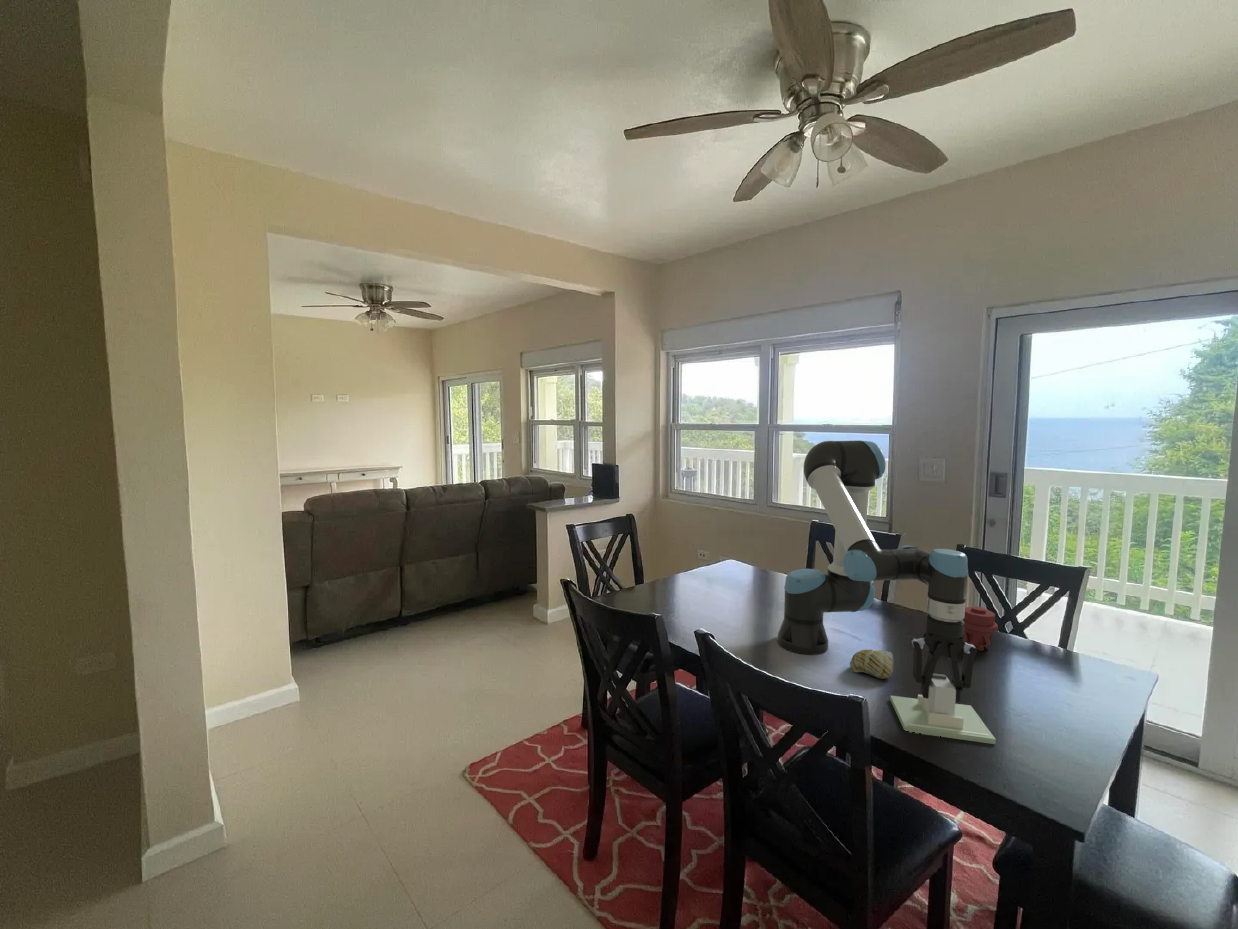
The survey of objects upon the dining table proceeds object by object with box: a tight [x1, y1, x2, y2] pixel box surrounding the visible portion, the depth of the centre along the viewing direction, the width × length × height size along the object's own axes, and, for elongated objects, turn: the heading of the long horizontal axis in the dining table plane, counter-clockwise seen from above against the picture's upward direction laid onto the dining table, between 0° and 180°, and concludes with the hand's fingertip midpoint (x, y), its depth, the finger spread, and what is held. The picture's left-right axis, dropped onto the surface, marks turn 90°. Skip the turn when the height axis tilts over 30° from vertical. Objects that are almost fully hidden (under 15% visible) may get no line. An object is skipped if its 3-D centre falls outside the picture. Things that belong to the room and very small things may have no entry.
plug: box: [931, 672, 956, 716], centre depth 124 cm, size 4×6×9 cm, turn 165°
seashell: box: [849, 649, 894, 680], centre depth 147 cm, size 10×10×10 cm
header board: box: [889, 694, 997, 745], centre depth 124 cm, size 18×14×4 cm
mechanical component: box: [962, 605, 998, 652], centre depth 165 cm, size 12×10×10 cm
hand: (939, 712), depth 124 cm, fingers closed on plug, 4 cm apart
